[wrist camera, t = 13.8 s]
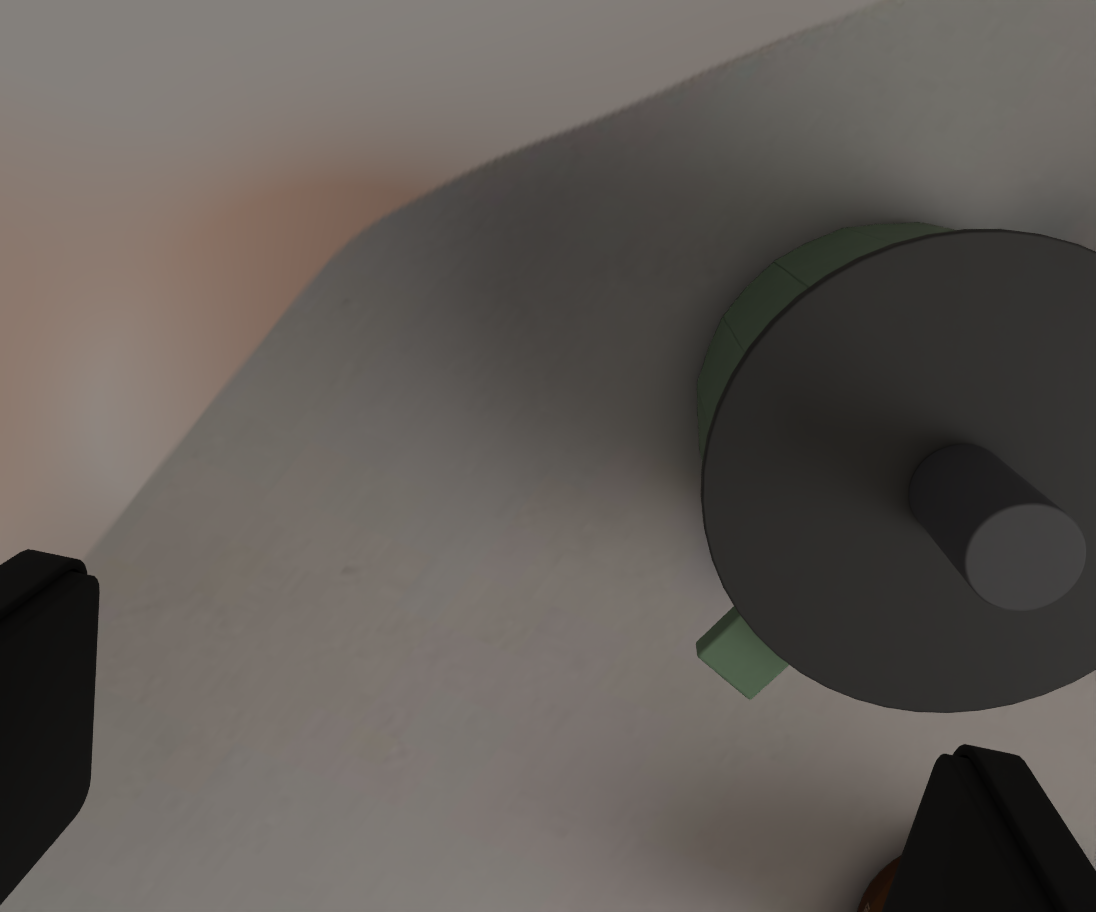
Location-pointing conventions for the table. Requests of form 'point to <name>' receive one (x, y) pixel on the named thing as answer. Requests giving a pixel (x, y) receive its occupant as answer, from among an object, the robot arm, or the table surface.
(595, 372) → the table surface
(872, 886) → the food container
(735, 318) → the cooker
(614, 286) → the table surface
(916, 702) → the lid
